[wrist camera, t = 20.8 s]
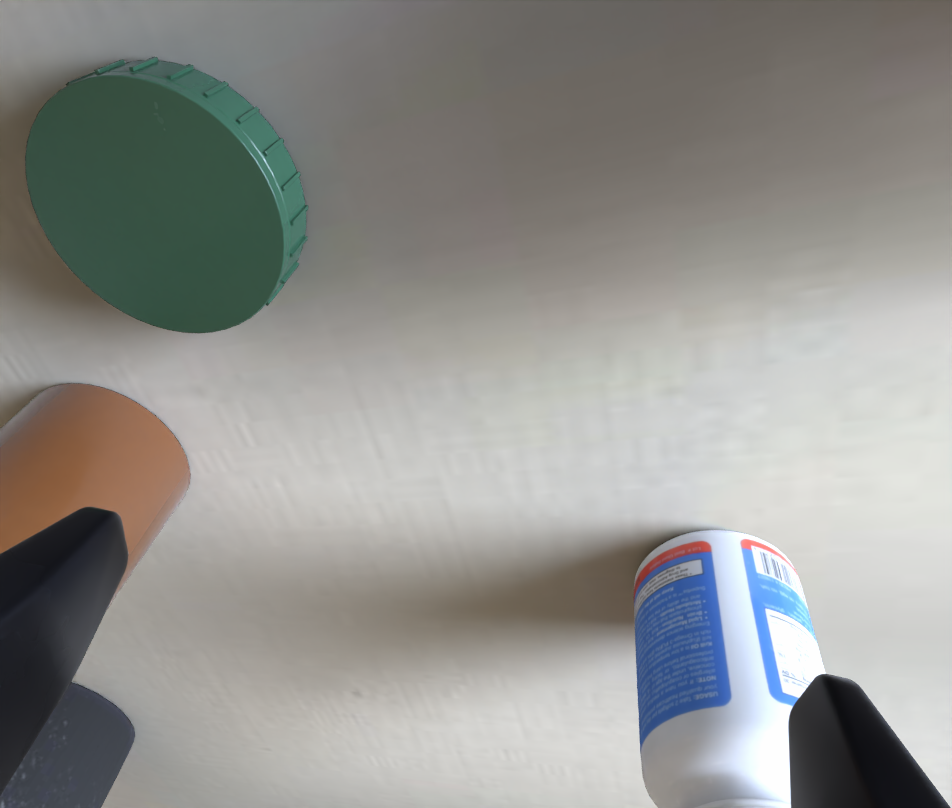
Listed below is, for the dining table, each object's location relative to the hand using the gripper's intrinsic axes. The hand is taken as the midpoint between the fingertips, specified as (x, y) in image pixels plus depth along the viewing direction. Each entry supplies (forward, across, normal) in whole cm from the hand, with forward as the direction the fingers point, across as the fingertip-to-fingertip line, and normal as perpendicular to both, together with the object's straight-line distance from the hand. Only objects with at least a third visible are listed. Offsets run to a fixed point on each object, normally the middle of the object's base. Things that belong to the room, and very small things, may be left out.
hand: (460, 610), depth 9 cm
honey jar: (+12, +13, +11) cm, 21 cm away
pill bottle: (+12, -8, +11) cm, 18 cm away
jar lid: (+11, +10, +1) cm, 14 cm away
